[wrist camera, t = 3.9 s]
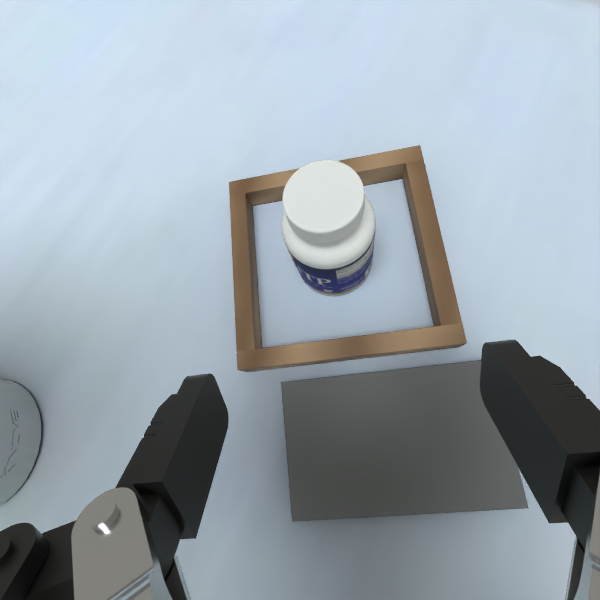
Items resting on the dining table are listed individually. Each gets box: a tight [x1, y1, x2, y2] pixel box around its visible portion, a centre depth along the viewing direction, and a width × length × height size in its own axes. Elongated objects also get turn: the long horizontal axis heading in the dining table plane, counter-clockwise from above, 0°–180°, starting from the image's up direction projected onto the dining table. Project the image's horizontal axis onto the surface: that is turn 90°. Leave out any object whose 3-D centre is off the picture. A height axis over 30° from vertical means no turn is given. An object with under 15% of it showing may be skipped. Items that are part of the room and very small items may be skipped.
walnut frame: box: [229, 145, 467, 372], centre depth 24 cm, size 14×14×2 cm
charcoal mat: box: [281, 360, 528, 521], centre depth 21 cm, size 13×8×1 cm, turn 96°
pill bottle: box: [282, 160, 375, 296], centre depth 21 cm, size 5×5×9 cm
